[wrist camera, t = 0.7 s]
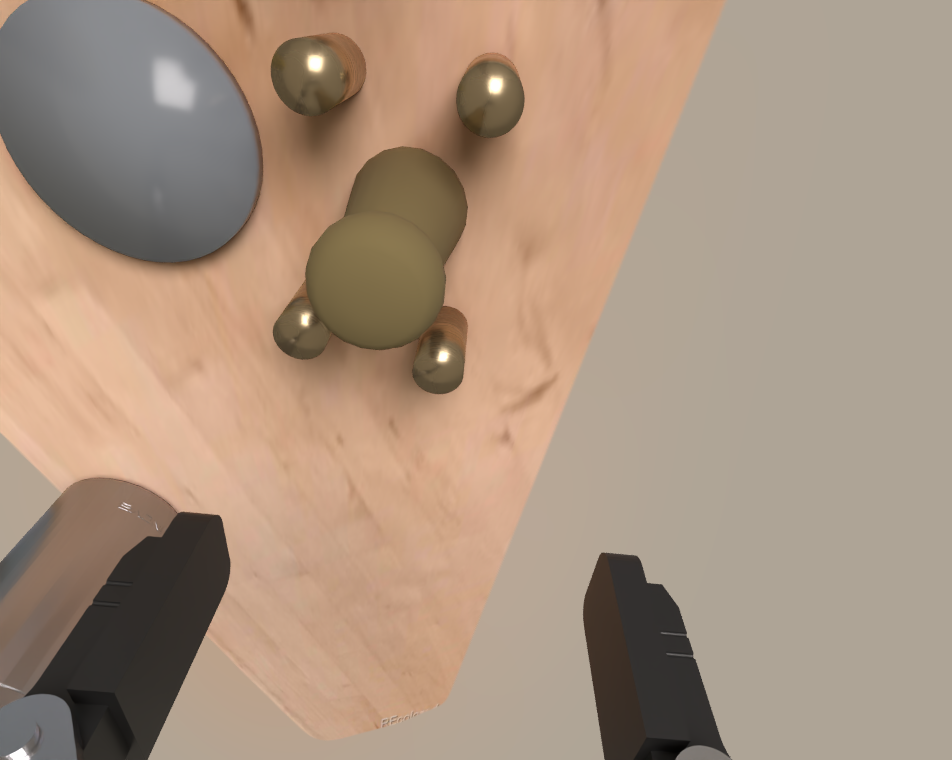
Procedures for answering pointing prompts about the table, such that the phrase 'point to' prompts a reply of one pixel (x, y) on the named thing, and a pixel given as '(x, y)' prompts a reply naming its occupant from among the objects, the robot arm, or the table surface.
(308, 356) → the cylinder
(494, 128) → the cylinder
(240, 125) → the slate coaster
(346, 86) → the cylinder
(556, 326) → the table surface
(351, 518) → the table surface
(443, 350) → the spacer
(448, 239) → the cork
